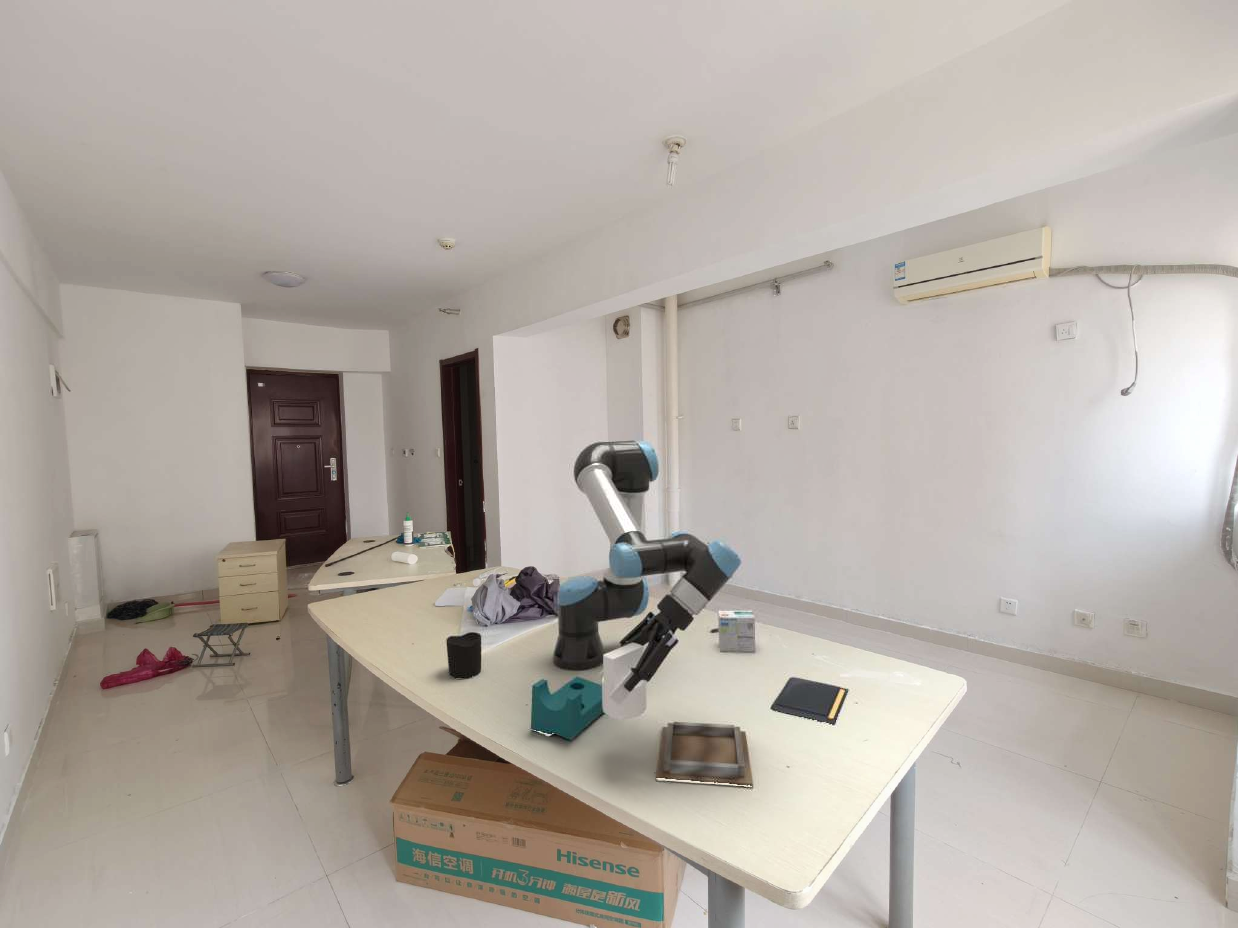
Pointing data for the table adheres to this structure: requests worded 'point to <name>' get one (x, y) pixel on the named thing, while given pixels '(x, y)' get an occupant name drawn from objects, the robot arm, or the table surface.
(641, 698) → the cylinder with rectangular tab
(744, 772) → the plate
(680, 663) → the table surface
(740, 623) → the light bulb box
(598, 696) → the teal l-shaped bracket
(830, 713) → the wallet
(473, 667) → the pen holder
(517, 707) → the table surface
